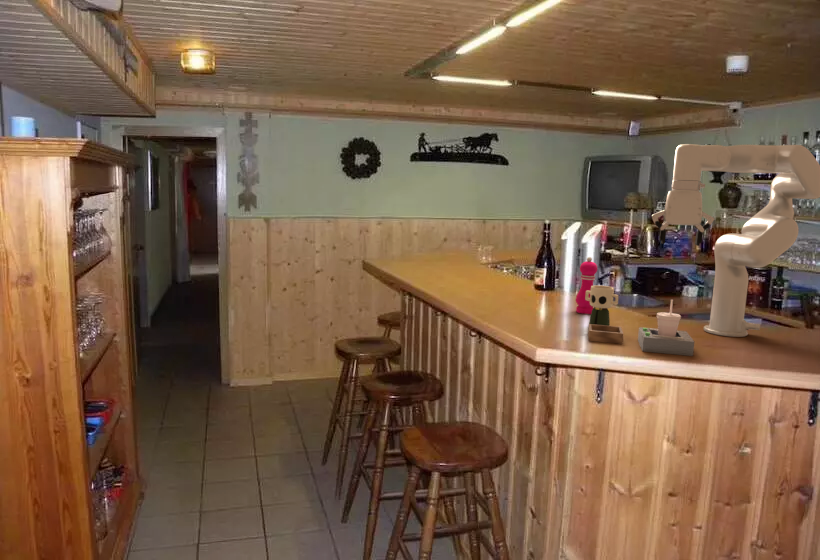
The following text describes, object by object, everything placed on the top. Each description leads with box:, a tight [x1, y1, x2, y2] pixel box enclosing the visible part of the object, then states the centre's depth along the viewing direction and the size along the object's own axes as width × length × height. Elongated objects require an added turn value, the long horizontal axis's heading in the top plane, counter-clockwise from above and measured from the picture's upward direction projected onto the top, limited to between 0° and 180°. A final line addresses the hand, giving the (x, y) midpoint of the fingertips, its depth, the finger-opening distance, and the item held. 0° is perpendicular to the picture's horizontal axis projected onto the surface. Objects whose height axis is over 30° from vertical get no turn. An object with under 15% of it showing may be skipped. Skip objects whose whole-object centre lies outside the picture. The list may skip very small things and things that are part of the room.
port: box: [637, 326, 695, 357], centre depth 179 cm, size 13×13×5 cm
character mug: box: [585, 284, 619, 326], centre depth 202 cm, size 11×7×13 cm, turn 50°
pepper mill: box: [575, 256, 598, 315], centre depth 225 cm, size 7×7×20 cm
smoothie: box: [655, 299, 682, 337], centre depth 178 cm, size 6×6×14 cm
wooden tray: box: [587, 323, 624, 345], centre depth 187 cm, size 9×9×3 cm
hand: (679, 244), depth 190 cm, fingers open, 9 cm apart
